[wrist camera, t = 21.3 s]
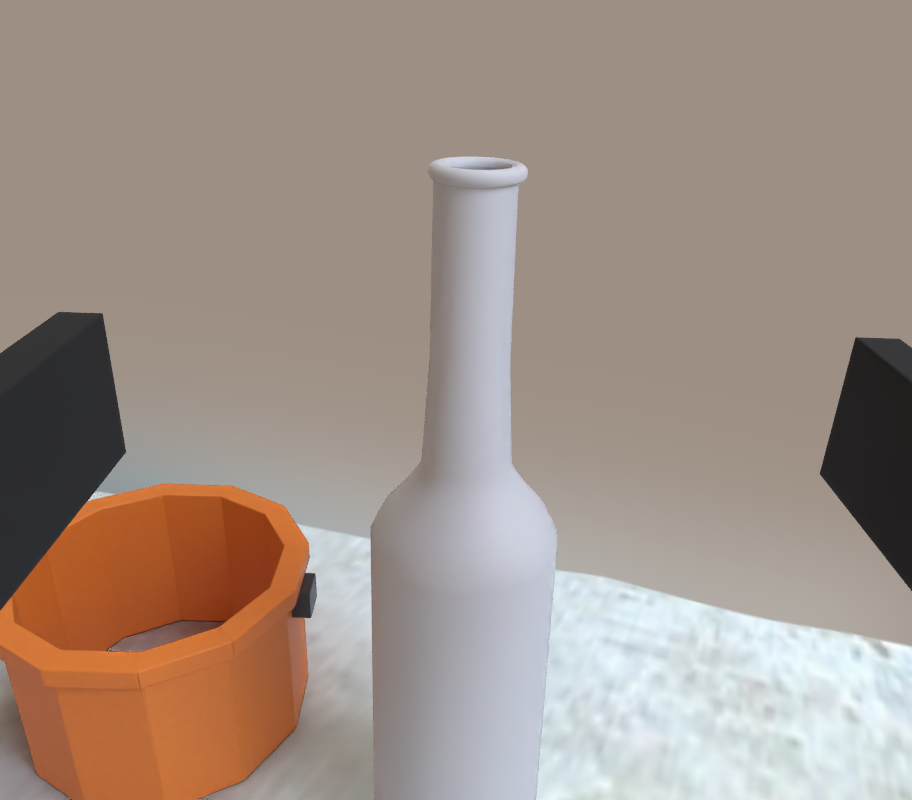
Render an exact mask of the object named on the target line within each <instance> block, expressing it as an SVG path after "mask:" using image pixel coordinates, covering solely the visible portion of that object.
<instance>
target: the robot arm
mask: <svg viewBox="0 0 912 800" xmlns="http://www.w3.org/2000/svg"><path fill="white" fill-rule="evenodd" d="M125 453H126V449H125V444H124V438H123V431H122V426H121V420H120V414H119V408H118V402H117V396H116V391H115V385H114V378H113V372H112V367H111V361H110V355H109V350H108V344H107V337H106V331H105V326H104V319H103V314H102V313H101V314H100V313H71V312H58V313H56V314H55V315H54V316H52V317H51V318H49V319H48V320H47V321H45V322H44V323H42V324H41V325H40V326H38V327H37V328H35V329H34V330H32V331H31V332H30V333H28V334H27V335H26V336H24V337H23V338H21V339H20V340H18V341H17V342H16V343H14V344H13V345H11V346H10V347H9V348H7V349H6V350H4V351H3V352H2V353H0V611H1V609H2V608H3V607H4V606H5V604H6V603H7V602H8V601H9V599H10V598H11V597H12V596H13V594H14V593H15V592H16V590H17V589H18V588H19V587H20V585H21V584H22V583H23V582H24V580H25V579H26V578H27V577H28V575H29V574H30V573H31V572H32V570H33V569H34V568H35V566H36V565H37V564H38V563H39V561H40V560H41V559H42V558H43V556H44V555H45V554H46V553H47V551H48V550H49V549H50V548H51V546H52V545H53V544H54V542H55V541H56V540H57V539H58V537H59V536H60V535H61V534H62V532H63V531H64V530H65V529H66V527H67V526H68V525H69V524H70V522H71V521H72V520H73V518H74V517H75V516H76V515H77V513H78V512H79V511H80V510H81V508H82V507H83V506H84V505H85V503H86V502H87V501H88V500H89V498H90V497H91V496H92V494H93V493H94V492H95V491H96V489H97V488H98V487H99V485H100V484H101V483H102V482H103V481H104V479H105V478H106V477H107V475H108V474H109V473H110V472H111V470H112V469H113V468H114V467H115V465H116V464H117V463H118V461H119V460H120V459H121V458H122V457H123V455H124V454H125ZM820 475H821V476H822V477H823V479H824V480H825V481H826V482H827V484H828V485H829V486H830V487H831V489H832V490H833V491H834V493H835V494H836V495H837V496H838V498H839V499H840V500H841V502H842V503H843V504H844V505H845V506H846V508H847V509H848V510H849V512H850V513H851V514H852V516H853V517H854V518H855V519H856V520H857V522H858V523H859V524H860V525H861V527H862V528H863V530H864V531H865V532H866V533H867V535H868V536H869V537H870V538H871V540H872V541H873V542H874V543H875V545H876V546H877V547H878V549H879V550H880V551H881V552H882V554H883V555H884V556H885V557H886V559H887V560H888V561H889V563H890V564H891V565H892V566H893V568H894V569H895V570H896V571H897V573H898V574H899V575H900V577H901V578H902V579H903V580H904V582H905V583H906V584H907V586H908V587H909V588H910V589H911V591H912V348H911V347H910V346H908V345H907V344H906V343H904V342H903V341H902V340H900V339H886V338H885V339H884V338H855V342H854V346H853V349H852V353H851V357H850V361H849V365H848V368H847V372H846V376H845V380H844V385H843V387H842V391H841V395H840V399H839V403H838V406H837V411H836V414H835V418H834V422H833V426H832V429H831V434H830V437H829V441H828V445H827V448H826V452H825V456H824V460H823V464H822V468H821V471H820Z"/></svg>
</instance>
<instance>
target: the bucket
mask: <svg viewBox="0 0 912 800" xmlns="http://www.w3.org/2000/svg"><path fill="white" fill-rule="evenodd" d="M309 558H310V556H309V543H308V541H307V539H306V538H305V536H304V535H303V533H302V532H301V530H300V529H299V527H298V526H297V524H296V523H295V521H294V520H293V518H292V517H291V515H290V514H289V512H288V511H287V510H286V508H285V506H283V505H280V504H278V503H276V502H273V501H270V500H268V499H265V498H263V497H260V496H257V495H255V494H252V493H250V492H247V491H245V490H242V489H239V488H237V487H234V486H225V485H188V484H160V485H156V486H152V487H147V488H143V489H138V490H134V491H130V492H126V493H121V494H116V495H112V496H108V497H103V498H99V499H94V500H91V501H88V502H86V503H85V505H84V506H83V507H82V508H81V510H80V511H79V512H78V513H77V515H76V516H75V517H74V518H73V520H72V521H71V522H70V524H69V525H68V526H67V527H66V529H65V530H64V531H63V532H62V534H61V535H60V536H59V537H58V539H57V540H56V541H55V542H54V544H53V545H52V546H51V548H50V549H49V550H48V551H47V553H46V554H45V555H44V556H43V558H42V559H41V560H40V561H39V563H38V564H37V565H36V566H35V568H34V569H33V570H32V572H31V573H30V574H29V575H28V577H27V578H26V579H25V580H24V582H23V583H22V584H21V585H20V587H19V588H18V589H17V590H16V592H15V593H14V594H13V596H12V597H11V598H10V599H9V601H8V602H7V603H6V604H5V606H4V607H3V608H2V609H1V611H0V659H1V660H3V661H5V664H6V668H7V671H8V675H9V678H10V682H11V686H12V689H13V693H14V696H15V700H16V703H17V707H18V710H19V714H20V717H21V721H22V725H23V728H24V732H25V735H26V739H27V742H28V746H29V749H30V753H31V756H32V760H33V763H34V767H35V771H36V773H37V775H39V776H40V777H42V778H43V779H44V780H46V781H47V782H48V783H50V784H51V785H53V786H54V787H55V788H57V789H58V790H60V791H61V792H62V793H64V794H65V795H66V796H68V797H69V798H71V799H72V800H197V799H200V798H202V797H205V796H207V795H209V794H212V793H214V792H217V791H219V790H222V789H224V788H227V787H229V786H231V785H234V784H236V783H239V782H241V781H244V780H245V779H246V778H247V777H248V776H249V775H250V774H251V773H252V772H253V771H254V770H255V769H256V768H257V767H258V766H259V765H260V764H261V763H262V762H263V761H264V760H265V759H266V758H267V757H268V756H269V755H270V754H271V753H272V752H273V751H274V750H275V749H276V748H277V747H278V746H279V745H280V744H281V743H282V742H283V740H284V739H285V738H286V737H287V736H288V735H289V734H290V733H291V732H292V731H293V730H294V729H295V728H296V726H297V721H298V717H299V713H300V709H301V705H302V701H303V697H304V693H305V688H306V684H307V680H308V663H307V649H306V635H305V620H304V618H311V616H312V613H313V609H314V605H315V601H316V597H317V592H316V576H315V573H305V571H306V568H307V565H308V561H309ZM180 620H197V621H226V622H225V623H224V624H222V625H221V626H220V627H218V628H215V629H212V630H208V631H205V632H202V633H199V634H196V635H193V636H189V637H186V638H183V639H180V640H177V641H174V642H171V643H167V644H164V645H161V646H158V647H155V648H152V649H148V650H145V651H142V652H116V651H106V650H107V649H109V648H110V647H111V646H113V645H114V644H116V643H117V642H119V641H120V640H121V639H123V638H124V637H127V636H130V635H134V634H137V633H140V632H144V631H147V630H150V629H153V628H157V627H160V626H163V625H166V624H170V623H173V622H176V621H180Z"/></svg>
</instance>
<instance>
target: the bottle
mask: <svg viewBox="0 0 912 800" xmlns="http://www.w3.org/2000/svg"><path fill="white" fill-rule="evenodd" d="M428 174H429V176H430V178H431V179H432V180H433V222H432V224H433V225H432V271H431V322H430V361H429V373H428V387H427V398H426V411H425V424H424V437H423V449H422V457H421V461H420V463H419V464H418V466H417V467H416V468H415V469H414V471H413V472H412V473H411V474H410V475H409V476H408V477H407V478H406V479H405V480H404V481H403V482H402V483H401V484H400V485H399V486H398V487H397V488H396V489H394V490H393V491H392V492H391V493H390V494H389V495H388V497H387V498H386V500H385V502H384V503H383V505H382V506H381V508H380V510H379V511H378V514H377V515H376V517H375V520H374V522H373V523H372V525H371V593H372V662H373V730H374V793H375V800H536V793H537V781H538V769H539V757H540V745H541V733H542V721H543V709H544V697H545V685H546V673H547V660H548V648H549V636H550V624H551V612H552V600H553V588H554V576H555V564H556V552H557V540H558V533H557V530H556V528H555V526H554V523H553V521H552V518H551V516H550V515H549V512H548V511H547V509H546V507H545V505H544V503H543V501H542V500H541V499H540V498H539V497H538V496H537V494H536V493H535V492H534V491H533V490H532V489H531V488H530V487H529V486H528V485H527V484H526V483H525V481H524V480H523V479H522V478H521V477H520V476H519V474H518V473H517V471H516V470H515V468H514V467H513V465H512V461H511V397H510V395H511V392H510V351H511V330H512V310H513V290H514V269H515V248H516V227H517V206H518V186H519V185H518V184H520V183H522V182H524V181H525V179H526V178H527V175H528V170H527V168H526V167H525V166H524V165H523V164H522V163H520V162H517V161H513V160H508V159H501V158H491V157H451V158H443V159H438V160H435V161H433V162H432V163H431V164H430V165H429V166H428Z"/></svg>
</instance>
